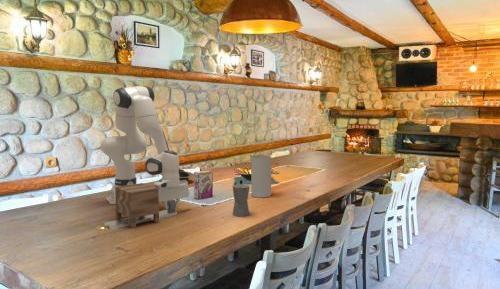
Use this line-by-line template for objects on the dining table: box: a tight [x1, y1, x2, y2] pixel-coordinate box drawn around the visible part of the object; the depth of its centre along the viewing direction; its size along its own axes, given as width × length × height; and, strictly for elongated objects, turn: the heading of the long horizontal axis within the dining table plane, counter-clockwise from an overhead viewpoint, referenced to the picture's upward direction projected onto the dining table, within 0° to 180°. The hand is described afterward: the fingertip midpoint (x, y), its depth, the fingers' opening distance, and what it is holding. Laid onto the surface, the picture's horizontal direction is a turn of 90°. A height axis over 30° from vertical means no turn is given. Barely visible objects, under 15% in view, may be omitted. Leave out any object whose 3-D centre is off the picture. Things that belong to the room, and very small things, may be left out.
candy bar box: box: [193, 169, 214, 200], centre depth 234 cm, size 11×5×16 cm, turn 134°
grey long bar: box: [103, 199, 178, 230], centre depth 188 cm, size 36×8×7 cm, turn 132°
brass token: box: [95, 224, 109, 231], centre depth 175 cm, size 5×5×1 cm
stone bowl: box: [159, 168, 194, 182], centre depth 281 cm, size 25×25×9 cm
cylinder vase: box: [250, 154, 272, 199], centre depth 238 cm, size 12×12×25 cm
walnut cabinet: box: [115, 182, 160, 229], centre depth 186 cm, size 18×15×16 cm
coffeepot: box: [232, 179, 250, 217], centre depth 199 cm, size 15×9×18 cm, turn 25°
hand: (171, 207), depth 199 cm, fingers open, 4 cm apart
